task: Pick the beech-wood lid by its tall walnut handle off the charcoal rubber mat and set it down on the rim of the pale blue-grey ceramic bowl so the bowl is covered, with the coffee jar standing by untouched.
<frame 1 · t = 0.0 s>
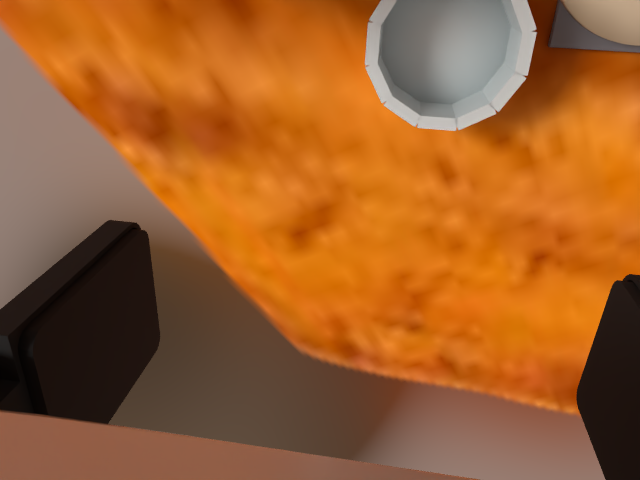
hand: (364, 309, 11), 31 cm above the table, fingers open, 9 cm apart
bowl: (443, 39, 37), on the table
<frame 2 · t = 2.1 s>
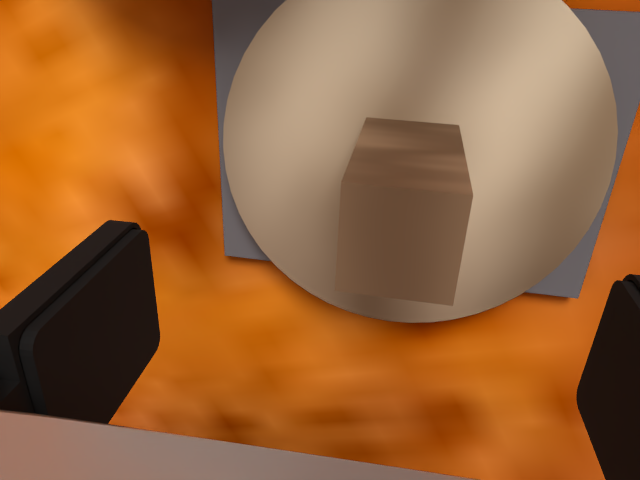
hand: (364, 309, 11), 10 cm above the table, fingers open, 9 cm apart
mat: (408, 150, 20), on the table
lid: (407, 155, 19), point 1 cm above the table, touching mat
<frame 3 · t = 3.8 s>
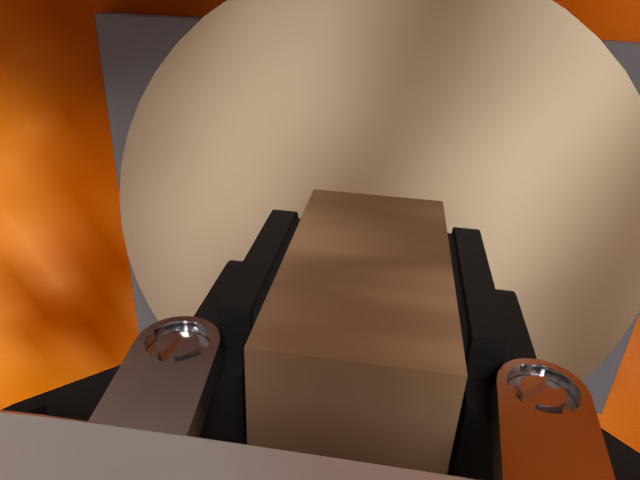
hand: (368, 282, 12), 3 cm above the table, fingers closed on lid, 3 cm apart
mat: (375, 225, 15), on the table
lid: (374, 234, 14), point 1 cm above the table, touching gripper, mat
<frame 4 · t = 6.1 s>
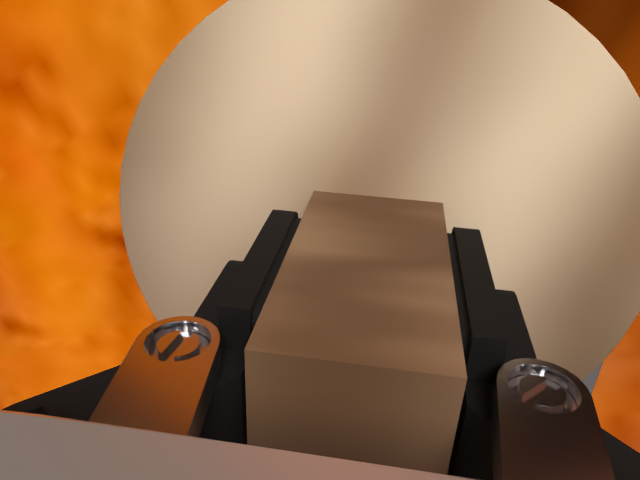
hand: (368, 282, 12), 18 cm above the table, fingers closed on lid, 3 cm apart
lid: (374, 235, 14), point 16 cm above the table, touching gripper
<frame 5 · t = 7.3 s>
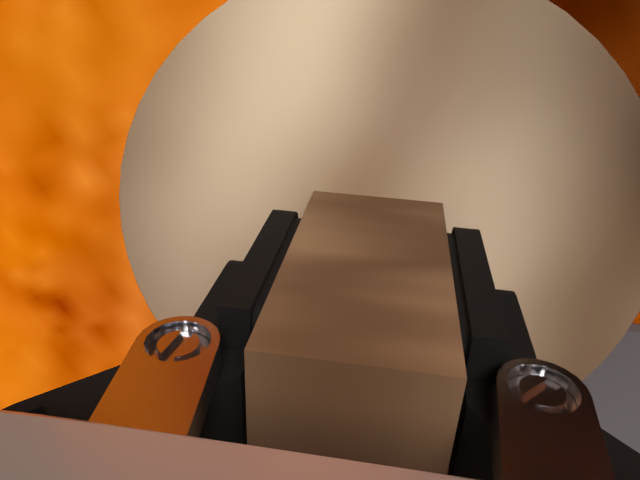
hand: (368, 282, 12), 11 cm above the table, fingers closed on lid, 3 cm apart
mat: (513, 397, 26), on the table
lid: (374, 235, 14), point 8 cm above the table, touching gripper
when the fingers open (9 cm above the table, at t = 8.3 s): lid drops 2 cm, resting on bowl.
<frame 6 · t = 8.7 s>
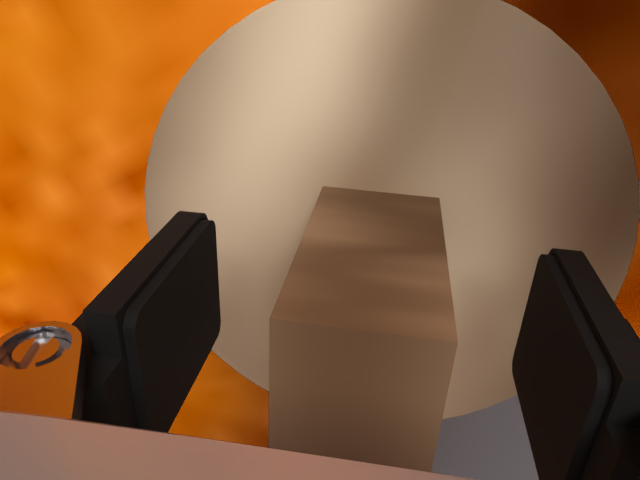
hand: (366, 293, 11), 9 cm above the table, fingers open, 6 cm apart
mat: (514, 426, 24), on the table
lid: (376, 227, 15), point 5 cm above the table, touching bowl
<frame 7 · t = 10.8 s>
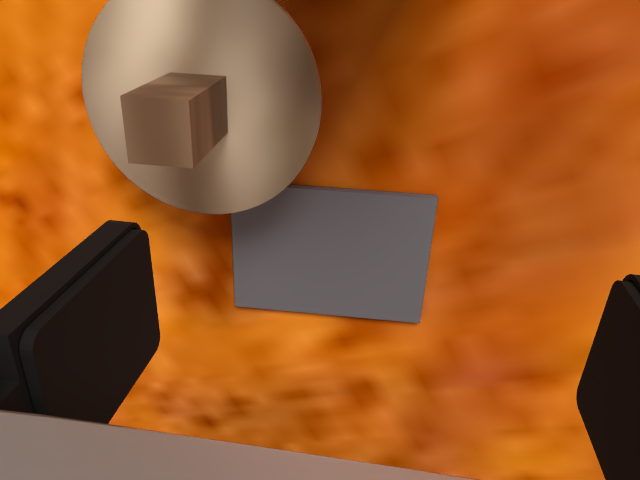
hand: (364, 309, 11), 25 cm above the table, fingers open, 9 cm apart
mat: (329, 252, 39), on the table
lid: (205, 99, 30), point 5 cm above the table, touching bowl
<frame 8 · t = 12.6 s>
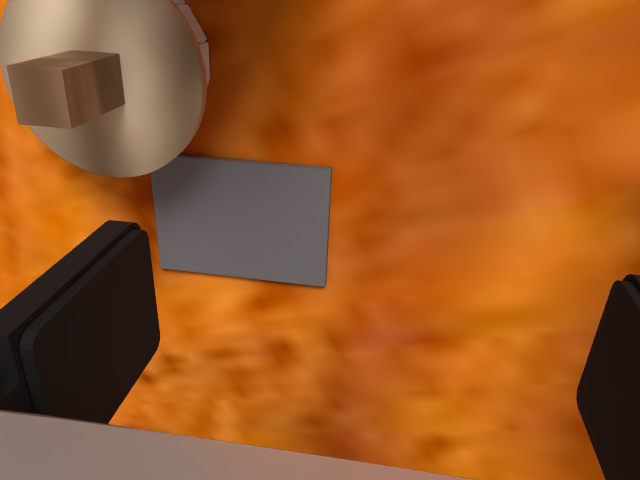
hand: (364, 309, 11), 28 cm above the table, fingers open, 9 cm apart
mat: (241, 219, 43), on the table
lid: (107, 74, 34), point 5 cm above the table, touching bowl
bowl: (141, 56, 38), on the table
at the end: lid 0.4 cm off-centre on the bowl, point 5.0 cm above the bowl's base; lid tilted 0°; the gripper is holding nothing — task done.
